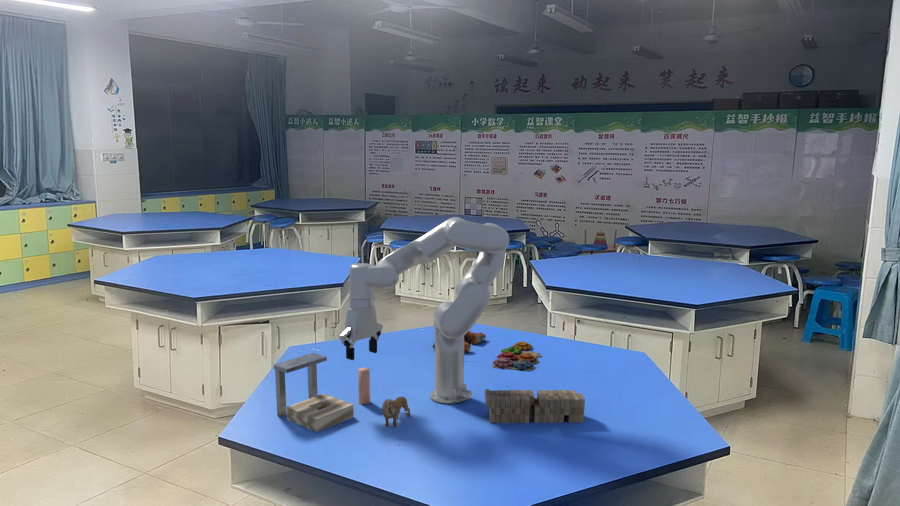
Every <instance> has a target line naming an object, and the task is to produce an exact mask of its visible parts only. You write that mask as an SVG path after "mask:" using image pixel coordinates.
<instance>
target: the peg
mask: <svg viewBox="0 0 900 506" xmlns="http://www.w3.org/2000/svg"><path fill="white" fill-rule="evenodd" d="M370 372H371V371H370V368H368V367H360V368H358V370H357V380H358V384H357V385H358V404H359V405H362V404H364V405H369V404H370V403H371V391H370V390H371V383H370V382H371V381H370V379H371V377H370Z"/></svg>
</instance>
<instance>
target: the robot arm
mask: <svg viewBox="0 0 900 506" xmlns="http://www.w3.org/2000/svg"><path fill="white" fill-rule="evenodd" d="M509 244H510V235H509V233H508V231H507V230H506V229H505V228H503V227H501V226H499V225H498V224H496V223H493V222H486V223H485V222H484V223H483V224H482V223H478V222H473V221H469V220H466V219H463V218H462V217H459V216H453V217H450V218H448V219H447V220H445V221H443V222H441V223H440V224H438V225H437V226H436V227H434V228H433V229H431V230H429V231H427V232H426V233H425V234H423V235H421V236H420V237H418V238H415V240H412V241H410V242H409V243H407V244H406V245H404V246H401V247H399V248H398V249H396V250H394V251H393V252H391V253H390V254H387V255H386V256H385V257H383V258H381V260H379V261H378V262H377V263H376V264H375V265H374V266H373V265H372V264H370V263H366V262H360V263H359V262H357V263H353V264H351V265H350V267H349V271H348V273H349V274H348V275H349V279H348V280H349V307H348V308H347V309H346V313H345V314H346V315H345V322H344V323H345V324H344V331H342V333H341V334H339V337H338V338H339V339H340V341H341V344H343V346H344V347H345V357H346V360H350V361H354V360H355V347H354V345H355V344H356V341H357V342H358V341H361V340H365V339H369V340H368V352H369V353H374V354H378V341H379V340H380V336H381V335H382V330H383V328H384V327H383V326H384V325H383V324H381V323H378V322H377V319H378V318H377V310H376V307H375V301H376V297H375V295H374V294H375V292H374V291H375V290H374V289H375V288H377V289H385V290H388V289H392V288H394V287H395V286H397V284H398V283H399V281H400V275H401V274H403V273H404V272H406V271H408V270H410V269H411V268H413V267H416V266H420V265H424V264H429V263H432V262H434V261H435V260H437V259H438V258H440V257H441V256H443V255H444V254H446V253H447V252H450V250H452V249H454V248H455V247H457V248H459V249H460V248H461V249H464V250H471V251H474V252H478V255H477V257H476V259H475V260H474V262H473V264H472V265H471V266H470V267H469V269H468V270H467V271H466V273H465V274H464V275H463V276H462V278H461V279H460V280H459V281H458V283H457V284H456V286H455V295H456V298H455V299H454V301H450V300H449V301H448V300H447V301H444V302H441V303H440V304H438V305H437V307H436V308H435V309H434V312H433V331H434V343H435V351H434V388H433V390H431V392H430V393H429V394H430V395H429V396H430V399H431V400H433V401H434V402H436V403H439V404H440V403H441V404H458V403H462V402H465V401H466V400H470V399H471V397H472V395H473V392H474V391H472V390H471V389H467V386H468V385H467V384H466V383H465V352H464V341H465V339H464V335H465V334H466V333H467V332H468V331H470V330H471V329H472V327H473V326H474V325H475V324H476V322H477V321H478V320H479V318H480V317H481V316H482V314H483V313H484V312H485V310H486V309H487V307H488V305H489V303H490V300H491V292H490V289H489V288H490V286H491V285H492V284H493V282H494V281H495V279H496V278H497V276H498V275H499V273H500V272H501V270H502V268H503V267H504V266H503V265H504V262H505V255H506V249H507V248H508V246H509Z"/></svg>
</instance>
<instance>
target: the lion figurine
mask: <svg viewBox="0 0 900 506" xmlns="http://www.w3.org/2000/svg"><path fill="white" fill-rule="evenodd" d="M381 406H382V408H381V411H382V412H381V414H382V415H383V417H384V421H385V423H384V427H389V425H390V424H389V423H390V422H389V421H390V420H391V419H393V421H392V427H393V426H394V427H393V428H395V427H396V426H397V427H398V424H397V420H398V418H399V416H400V413H401V409H402V408H403V409H404V411H403V412H407V413H406V416H405V417H408V416H409V417H411V409H410V407H409V405H408V400H407V398H406V397H405V396H398V397H396V399H394V400H393V399H391V398H388V399H386V400H384V401H383V404H382V405H381ZM389 419H390V420H389ZM397 427H396V428H397Z"/></svg>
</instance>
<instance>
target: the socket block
mask: <svg viewBox="0 0 900 506" xmlns="http://www.w3.org/2000/svg"><path fill="white" fill-rule="evenodd" d="M286 411H287V415H286V420H287V421H290V422H291V423H295V424H297V425H299V426H301V427H304V428H306V429H308V430H311V431H312V432H315V433H319V432H321V431H323V430H327V429H328V428H331V427H333V426H336V425H338V424H341V423H342V422H345V421H347V420H350V419H352V418H354V415H355V413H354V411H355V410H354V404H353V403H350V402H349V401H345V400H343V399H339V398H336V397H335V396H332V395H329V394H326V393H321V394H319V395H318V396H315V397H312V398H310V399H309V398H307V399H304V400H301V401H298V402H296V403H293V404H291V405H288V406H286Z"/></svg>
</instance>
